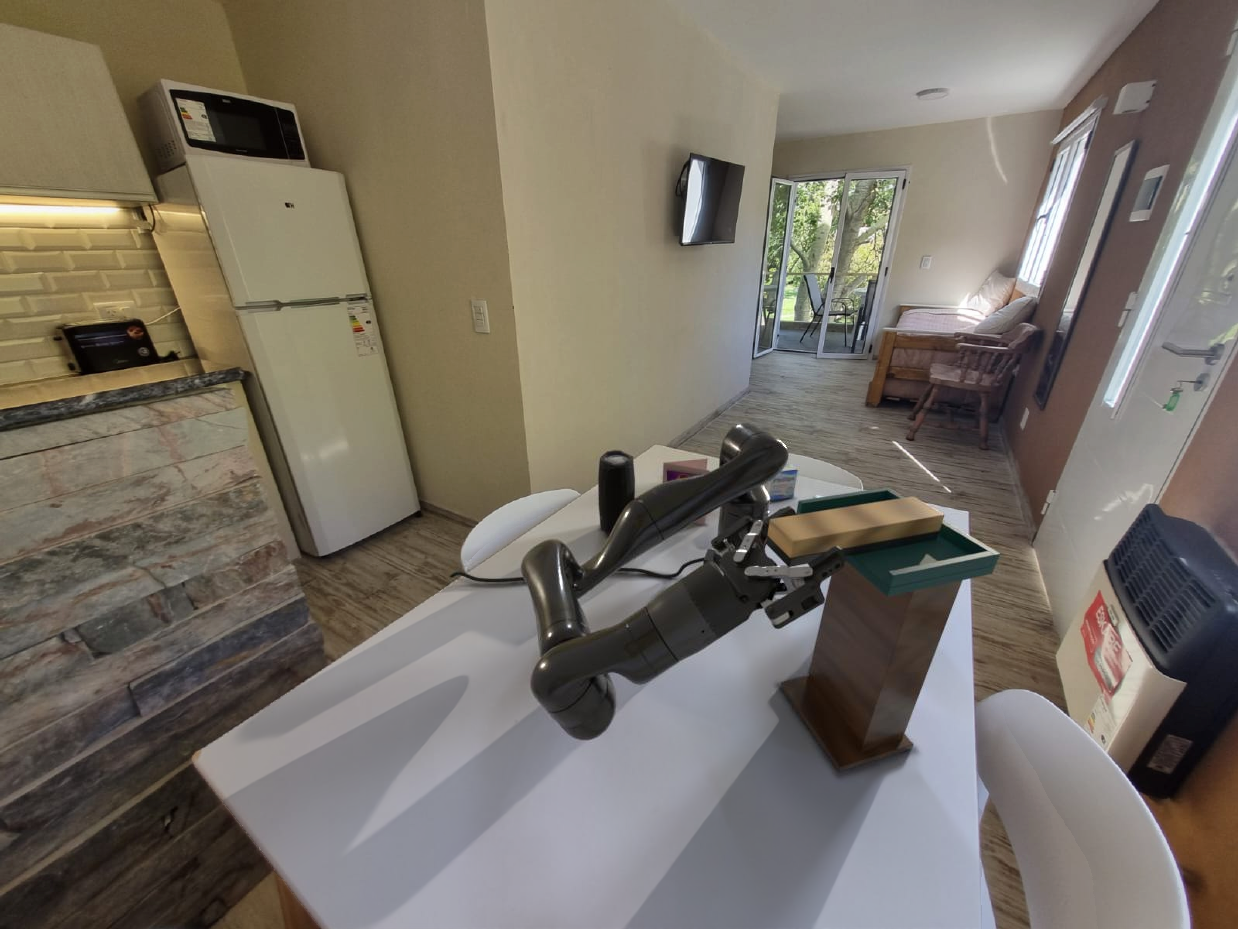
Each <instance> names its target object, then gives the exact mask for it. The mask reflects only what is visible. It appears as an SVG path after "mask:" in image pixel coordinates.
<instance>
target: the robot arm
mask: <svg viewBox="0 0 1238 929" xmlns="http://www.w3.org/2000/svg"><path fill="white" fill-rule="evenodd" d="M789 455H790V454H789V449H788V446H787V445H786V444H785V443H784V442H783V441H782V439H781V440H780V438H778V437H777V436H775V435H773V434H772V433H770V432H769V431H767V430H765V429H764V428H761V427H760V426H758V425H756V424H753V423H751V422H741V423H738V424H736V425H734V426H732V427H731V428H730V429H729V430H728V431H727V433H726V434H725V436H724V438H723V439H722V442H721V446H720V451H719V464H718V467H717V468H715V469H713V470H710V472H708V473H705V474H702V475H698V476H693V477H687V478H681V479H676V480H671V481H668V482H664V483H663V482H661V483H659V484H656V485H655V486H653V487H652V488H650V489H648V490H646V491H645V492H643V493H641V494H640V495H637V496H636V497H635V499H633V500H632V501H630V502H629V503H628V504H627V505H626V507H625V508H624V510H623V511H622V513H621V515H620V516H619V518H618V520H617V522H616V524H615V526H614V528H613V530H612V532H611V534H610V536H608V538H607V540H606V541H605V543H604V544H603V545H602V547H601V548H600V549H599V550H598V551H597V552H596V553H595V554H594V555H592V557H591V558H590V559H588V560H587V561H585V562H584V563H583V564H580V563H579V562H578V561H577V559H576V558H575V556H574V555H573V553H572V551H571V550H570V548H569V547H568V546H567V544H565V543H564V542H563V541H561V540H559V539H557V538H550V539H546V540H543V541H541V542H539V543H537V544H536V545H535V546H533V547H532V548H530V549H529V550H528V551H527V552H526V553H525V555H524V556H523V557H522V560H521V563H520V573H521V575H522V576H519V577H518V576H517V577H502V578H501V577H500V578H486V577H477V576H474V575H471V574H469V573H466V572H464V571H454V572H453V573H451V574H450V575H449V576H448V577H449V578H450V579H451V578H454V577H457V576H461V577H464V578H466V579H468V580H471V581H474V582H478V583H510V582H522V581H524V582H525V583H526V586H527V589H528V591H529V595H530V598H531V603H532V607H533V611H534V617H535V622H536V632H537V642H538V653H539V659H538V660H537V662H536V663H535V666H534V667H533V669H532V671H531V673H530V679H529V687H530V691H531V694H532V695H533V697H534V698H535V700H536V701H537V702H538V703H539V704H540V706H541V707H542V708H543V709H544V710H545V711H546V712H547V713H548V714H549V716H550V717H551V718H552V719H553V720H554V721H555V722H556V723H557V724H558V726H559V727H560V728H561V729H562V730H563V731H564V732H565V733H566V734H567V735H568V736H570V737H571V738H574V739H575V740H578V741H591V740H595V739H597V738H599V737H600V736H602V735H603V734H604V733H605V732H606V731H607V730H608V728H609V727H610V726H611V724H612V722H613V720H614V717H615V714H616V710H617V700H618V699H617V691H616V688H615V685H614V682H613V680H612V678H611V676H610V674H611V673H612V674H613V673H614V674H617V675H619V676H622V677H623V678H625V679H626V680H628V681H629V682H631V683H632V684H634V685H638V686H642V685H645V684H647V683H650V682H651V681H653V680H655V679H656V678H658V677H660V676H661V675H662V674H664V673H665V672H667V671H668V670H670V669H671V668H673V667H675V666H676V665H678V664H679V663H680V662H682V661H683V660H686V659H688V658H690V657H693V656H694V655H697V654H698V653H700V652H701V651H703V650H704V649H706V648H708V647H709V646H711V645H712V644H713V643H716V641H718V640H719V639H722V638H723V637H724V636H726V635H727V634H729V633H730V632H732V631H733V630H735V629H736V628H738V627H740V626H741V625H742V624H744V623H746V622H747V621H748V620H749V619H750V617H751V615H752V614H753V612H756V611H758V610H763V611H764V613H765V615H766V617H767V618H768V620H769V622H770V624H771V625H772V627H773V628H774V629H776V630H780V629H782V628H785V627H786V626H787V625H789V624H792V623H793V622H794V621H796V620H797V619H799V618H801V617H803V616H805V615H806V614H808V613H809V612H811V611H813V610H815V609H816V608H819V607H820V606H821V605H823V604H825V600H826V597H825V595H824V593H823V591H822V589H821V584H822V583H823V582H824V581H825V580H827V579H829V578H831V576H832V575H833V574H835V573H836V572H837V571H839V570H841V569H842V568H843V566H844V565H845V564H844V563H845V561H846V557H845V554H844V552H843V550H842V549H841V548H840V547H838V546H834V547H832V548H831V549H829V550H828V551H826V552H825V553H823V554H822V555H820V556H819V557H817V558H816V559H814V560H813V561H811V562H810V563H808V564H807V565H808V566H794V567H788V566H787V565H786V564H782V565H778V564H777V562H775V560H774V559H772V558H771V557H769V556H768V555H767V553H766V547H767V544H766V541H767V536H768V529H769V522H770V519H775V518H781V517H787V516H793V515H797V514H796V513H797V511H796V510H795V508H793V507H792V506H791V505H787V506H786V507H781V508H779V509H778V510H776V511H775V512H773V513H772V514H770V508H771V501H770V495H769V493H768V491H767V489H766V487H765V485H764V484H766V483H768V482H770V481H771V480H773V479H774V478H775V477H776V476H778V475H779V474H780V473H781V471H782V470H783V469H784V467H785V466H786V464H788V461H789V457H790V456H789ZM717 509H719V516H718V527H717V534H716V536H715V537H714V538H712V539H711V541H710V544H711V547H712V548H707V549H706V552H705V555H704V557H699V558H695V559H693V560H689V561H686V562H685V563H683V564H682V565H681V566H680V567H679V569H678V570H677V571H676V572H674V573H670V574H662V573H659V572H654V571H651V570H647V569H644V568H637V567H636V568H635V567H625V566H626V565H628V564H630V563H631V562H632V561H634V560H636V559H637V558H639V557H640V556H642V555H644V554H645V553H647V552H648V551H650V550H652V549H653V548H655V547H657V546H659V545H661V544H662V543H664V542H666V541H667V540H669V539H671V538H673V537H675V535H677V534H679V533H680V532H681V531H683V530H685V529H686V528H687V527H689V526H690V525H692V524H693V523H694V522H695V521H697V520H699V519H700V518H702V517H704V516H705V515H706V516H707V515H708V514H710V513H712V512H714V511H715V510H717ZM697 563H702V565H700V566H698V567H697V568H696V569H694V570H693V571H691V572H690V573H688V574H687V575H685V576H684V577H682V578H681V579H679V580H678V581H676V582H674V583H673V584H672V585H670V586H668V587H667V588H666V589H664V590H662V591H661V592H660V593H659V594H657V595H656V596H655V597H654V598H653V599H652V600H651V601H650V602H648V603H647V604H646V605H644V606H643V607H641V608H640V609H638V610H637V611H635V612H634V613H632V614H630V615H629V616H628V617H626V618H624V619H623V620H621V621H620V622H619V623H615V624H613V625H611V626H609V627H605V628H603V629H598V630H596V631H594V632H593V631H592V632H591V629H590V625H589V622H588V619H587V616H586V614H585V611H584V609H583V607H582V605H581V603H580V601H579V600H580V599H581V598H582V597H583V596H585V595H587V594H588V593H589V592H590V591H592V590H593V589H594V588H596V587H597V586H599V585H600V584H601V583H602V582H604V581H606V580H607V579H608V578H610V576H612V575H614V574H615V573H616V572H629V573H630V572H632V573H640V574H646V575H649V576H653V577H657V578H662V579H672V578H677V577H679V576H680V575H681V574H682V572H684V570H685V569H686V568H687V567H689V566H690V565H694V564H697ZM782 595H783V596H782ZM775 596H781V597H780V598H778V597H775Z"/></svg>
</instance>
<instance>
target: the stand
mask: <svg viewBox="0 0 1238 929" xmlns="http://www.w3.org/2000/svg"><path fill="white" fill-rule="evenodd" d="M844 564H845V565H844V566H843V568H842V569H841V570H839V571H837V572H836V573H835V574H833V575H832V576H830V579H829V582H828V586H827V587H828V588H827V592H826V596H825V602H824V603H823V604H824V606H823V609H822V612H821V617H820V622H819V626H818V630H817V634H816V639H815V642H814V648H813V651H812V656H811V661H810V665H809V668H808V673H807V675H804V676H800V677H796V678H793V679H788V680H784V681H781V682H780V683H779V688H780V689H781V691H782V692H783V694H784V695H785V697H786V698H787V700H788V701H789V703H790V704H791V705H792V707H793V708H794V709H795V711H796V712H797V714H798V715H799V717H800V718H801V720H802V721H803V723H804V724H805V725H806V727H807V728H808V730H809V732H810V733H811V734H812V736H813V737H814V738H815V740H816V742H817V743H818V744H819V746H820V748H821V749H822V750H823V752H824V753H825V755H827V757H828V759H829V760H830V762H831V764H832V765H833V766H834V767H835V769H836V770H837V772H838V773H840V772H844V771H847V770H850V769H854V768H856V767H859V766H863V765H866V764H870V763H872V762H875V761H878V760H880V759H885V758H887V757H891V756H894V755H897V754H901V753H904V752H906V751H910V750H912V749H913V747H914V746H915V745H914V743H913V741H912V740H911V739H910V738H909V737H908V736H907V734H906V731H907V728H908V726H909V723H910V721H911V717H912V716H913V712H914V710H915V707H916V705H917V701H918V699H919V697H920V694H921V691H922V688H923V686H924V684H925V680H926V679H927V675H928V673H929V670H930V668H931V665H932V663H933V659H934V658H935V657H934V656H935V654H936V651H937V649H938V647H939V643H940V641H941V638H942V636H943V633H944V630H945V628H946V625H947V622H948V620H949V617H950V615H951V612H952V609H953V607H954V604H955V601H956V599H957V596H958V594H959V591H960V589H961V586H962V583H963V581H964V580H961V581H957V582H952V583H948V584H943V585H939V586H934V587H929V588H925V589H920V590H916V591H911V592H907V593H902V594H898V595H893V596H888V597H887V596H886V595H885V594H884V593H882V592H881V591H880V590H879V589H878V588H877V587H875V586H874V585H873V584H872V583H871V582H869V581H868V580H867V579H866V578H865V577H864V576H862V575H861V574H860V573H859V572H858V571H857V570H855V569H854V568H853V567H852V566H851V565H850V564H848V563H847V562H846V561H845V563H844Z"/></svg>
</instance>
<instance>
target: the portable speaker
mask: <svg viewBox="0 0 1238 929" xmlns="http://www.w3.org/2000/svg"><path fill="white" fill-rule="evenodd" d="M598 461H599V462H598V475H597V483H598V484H597V485H598V486H597V487H598V488H597V489H598V490H597V491H598V495H597V496H598V499H597V500H598V514H599V515H598V516H599V525H600V529H601V530H602V531H603V532H604V533H605V534H606V535H607V537H609V536H610V534H611V532H612V530H613V528H614V526H615V524H616V522H617V520H618V518H619V516H620V515H621V513H622V511H623V510H624V508H625V507H626V505H627V504H628V503H629V502H630V501H632V500H633V499H635V498H636V475H635V463H634V462H635V460H634V456H633V455H631V454H628V453H626V452H625V451H623V450H620V449H613V450H609V451H605V453H603V454H602V455H601V456H600V457H599V460H598Z"/></svg>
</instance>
